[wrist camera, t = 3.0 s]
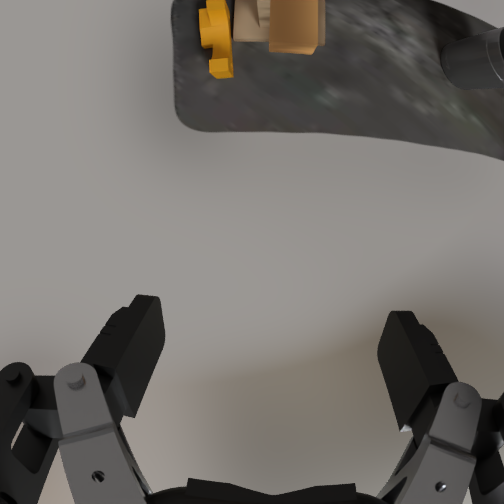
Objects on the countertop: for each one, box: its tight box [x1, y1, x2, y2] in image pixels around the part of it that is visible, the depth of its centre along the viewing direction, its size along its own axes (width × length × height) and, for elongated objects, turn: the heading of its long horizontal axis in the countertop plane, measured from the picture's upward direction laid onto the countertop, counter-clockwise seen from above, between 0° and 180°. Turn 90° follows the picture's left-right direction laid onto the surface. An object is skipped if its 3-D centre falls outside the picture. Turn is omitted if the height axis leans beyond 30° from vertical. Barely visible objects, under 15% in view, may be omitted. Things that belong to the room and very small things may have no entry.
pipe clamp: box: [199, 0, 233, 79], centre depth 38 cm, size 12×4×6 cm, turn 3°
